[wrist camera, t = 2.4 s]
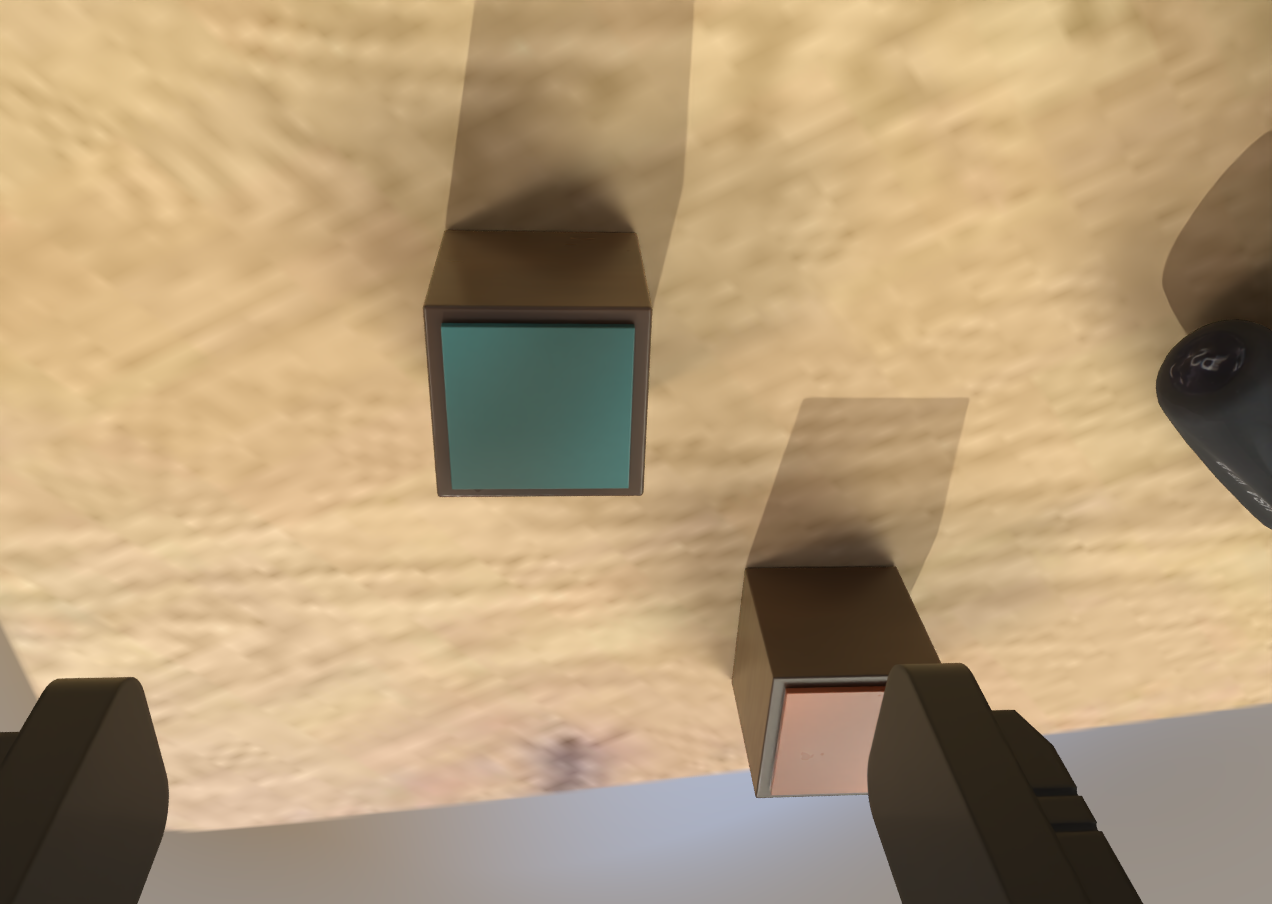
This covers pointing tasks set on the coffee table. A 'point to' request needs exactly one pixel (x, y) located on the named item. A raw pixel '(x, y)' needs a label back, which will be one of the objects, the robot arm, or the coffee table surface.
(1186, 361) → the screwdriver
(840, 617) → the red-topped brown block
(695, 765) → the coffee table surface
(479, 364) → the teal topped brown block
